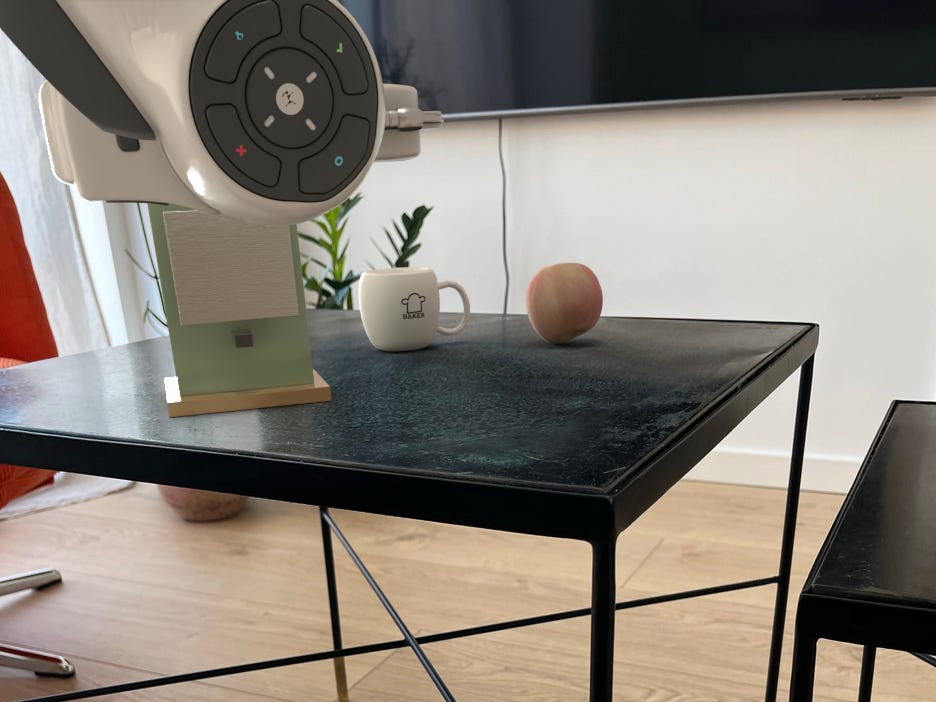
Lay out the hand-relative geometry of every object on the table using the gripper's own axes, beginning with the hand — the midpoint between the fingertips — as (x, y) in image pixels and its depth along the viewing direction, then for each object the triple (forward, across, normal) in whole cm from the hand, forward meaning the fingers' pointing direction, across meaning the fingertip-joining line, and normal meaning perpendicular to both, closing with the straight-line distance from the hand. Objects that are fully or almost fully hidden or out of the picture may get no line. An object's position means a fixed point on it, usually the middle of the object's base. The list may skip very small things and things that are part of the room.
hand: (228, 136), depth 62 cm
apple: (+32, -34, +19) cm, 51 cm away
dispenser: (+20, 0, +19) cm, 28 cm away
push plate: (+14, 0, +12) cm, 18 cm away
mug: (+39, -20, +20) cm, 48 cm away
